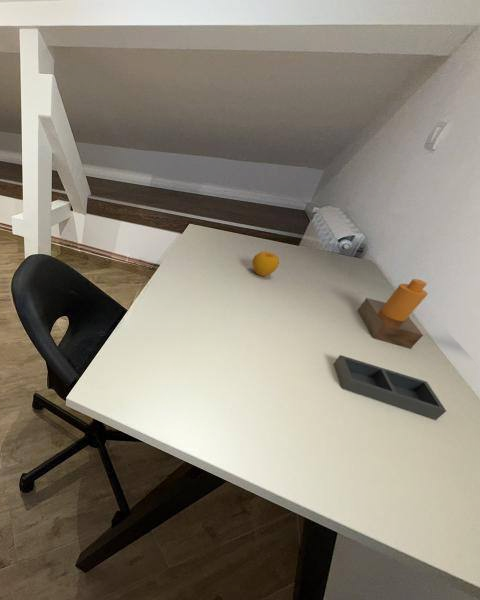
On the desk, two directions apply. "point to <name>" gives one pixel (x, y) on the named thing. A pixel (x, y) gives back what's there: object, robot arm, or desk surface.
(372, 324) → the wooden block
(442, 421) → the desk surface
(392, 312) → the bottle
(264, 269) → the apple
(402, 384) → the grey divided tray
